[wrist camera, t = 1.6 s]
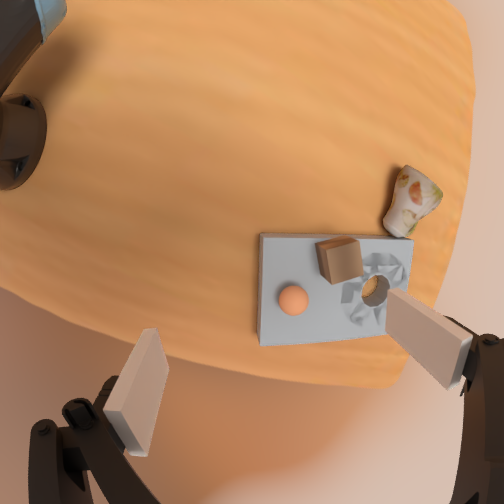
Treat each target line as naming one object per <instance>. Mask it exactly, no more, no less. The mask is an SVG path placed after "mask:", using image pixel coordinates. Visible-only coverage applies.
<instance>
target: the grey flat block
mask: <svg viewBox="0 0 504 504" xmlns="http://www.w3.org/2000/svg"><path fill="white" fill-rule="evenodd" d="M343 235H346V234H297V233H260V248H259V283H258V316H257V336H258V340H259V345H260V346H274V345H292V344H306V343H318V342H329V341H339V340H348V339H356V338H364V337H372V336H379V335H386V334H388V333H387V332H386V331H385V323H386V309H387V290H389V289H394V288H400V289H401V290H403V291H404V292H406V293H407V288H408V282H409V276H410V269H411V262H412V255H413V247H414V240H411V239H408V238H405V237H400V238H398V237H395V236H382V235H346V236H349V237H351V238H354V239H356V240H359V241H360V248H361V255H362V263H363V272H364V275H362V276H359V277H356V278H353V279H350V280H347V281H344V282H340V283H337V284H334V285H331V284H330V283H329V282H328V281H327V280H326V279H325V278H324V277H322V276H321V275H320V270H319V264H318V259H317V253H316V248H315V243H317V242H321V241H324V240H328V239H332V238H335V237H339V236H343ZM374 275H377V277H378V283H377V287H376V289H375V290H374V292H373V293H372V294H371V295H369V296H368V297H366V298H362V297H361V295H362V288H363V286H364V285H365V283H366V282H367V280H368V279H370V278H371V277H373V276H374ZM289 286H299V287H301V288H303V289H304V290H305V291H306V292H307V294H308V297H309V304H308V307H307V309H306V310H305V311H304V312H303V313H302V314H300V315H296V316H291V315H288V314H286V313H284V312H283V311H282V310H281V308H280V306H279V296H280V294H281V292H282V291H283V290H284V289H285V288H286V287H289Z"/></svg>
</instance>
